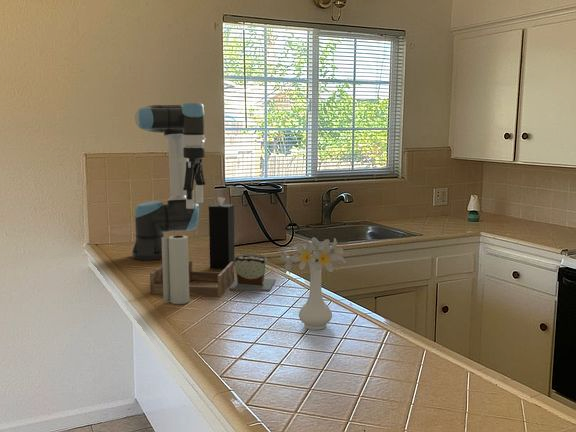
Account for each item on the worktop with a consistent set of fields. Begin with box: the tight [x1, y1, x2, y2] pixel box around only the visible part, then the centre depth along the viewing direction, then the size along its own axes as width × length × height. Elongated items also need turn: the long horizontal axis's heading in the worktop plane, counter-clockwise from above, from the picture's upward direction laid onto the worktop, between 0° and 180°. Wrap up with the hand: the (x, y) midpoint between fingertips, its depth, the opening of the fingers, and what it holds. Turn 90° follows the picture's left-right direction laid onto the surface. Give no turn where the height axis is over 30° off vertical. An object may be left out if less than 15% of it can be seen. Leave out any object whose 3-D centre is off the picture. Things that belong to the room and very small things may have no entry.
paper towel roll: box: [161, 234, 190, 305], centre depth 193 cm, size 7×6×21 cm
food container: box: [233, 253, 268, 287], centre depth 214 cm, size 12×6×10 cm, turn 71°
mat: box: [228, 278, 277, 292], centre depth 214 cm, size 14×14×1 cm
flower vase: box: [279, 236, 347, 331], centre depth 168 cm, size 13×18×25 cm
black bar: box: [208, 196, 235, 270], centre depth 239 cm, size 8×8×28 cm
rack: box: [149, 259, 235, 297], centre depth 212 cm, size 21×24×7 cm
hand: (195, 205), depth 221 cm, fingers open, 13 cm apart
